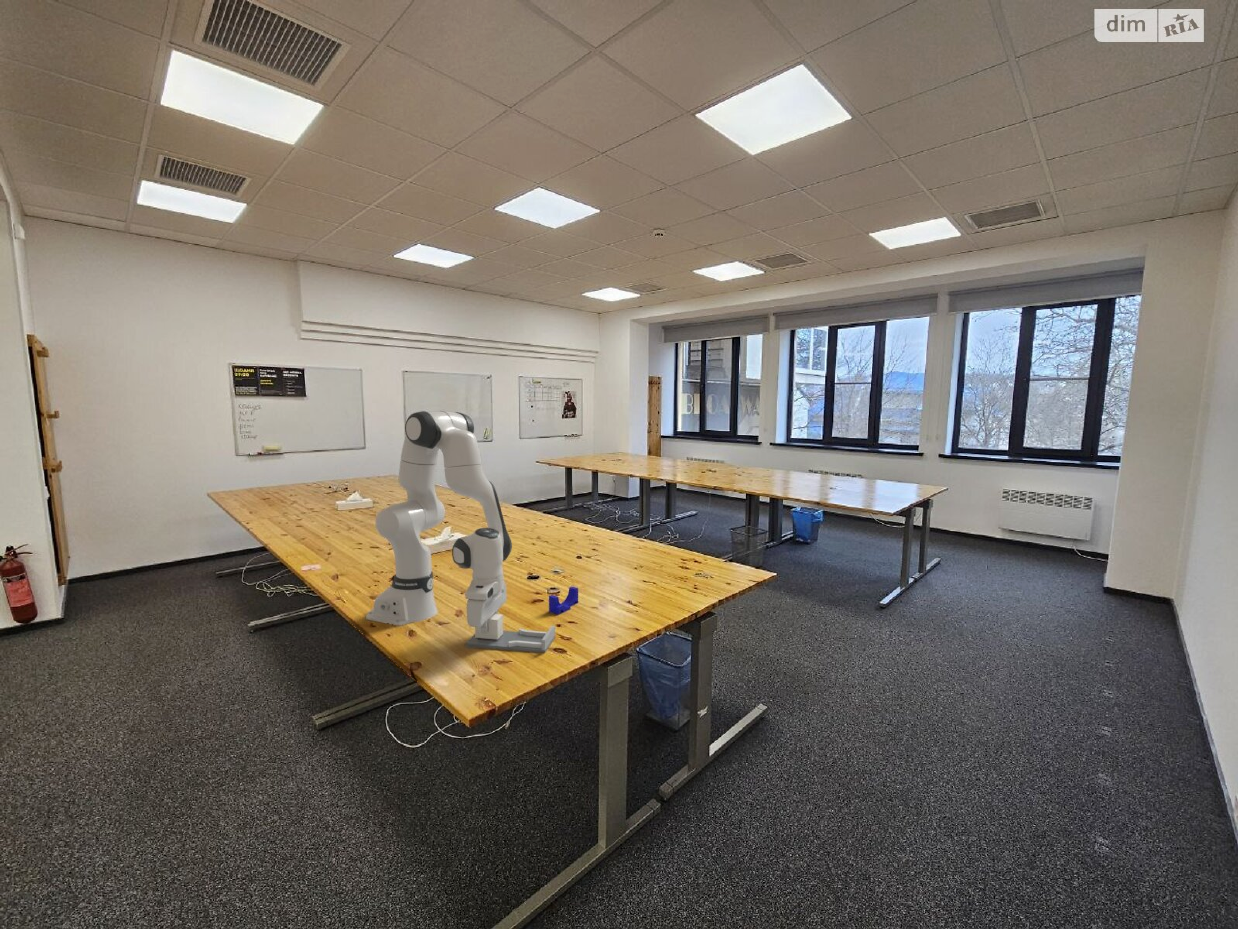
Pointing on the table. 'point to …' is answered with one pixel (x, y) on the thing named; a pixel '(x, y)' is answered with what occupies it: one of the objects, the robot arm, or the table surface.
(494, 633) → the panel block
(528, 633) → the mounting plate
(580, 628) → the table surface
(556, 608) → the cable clip
